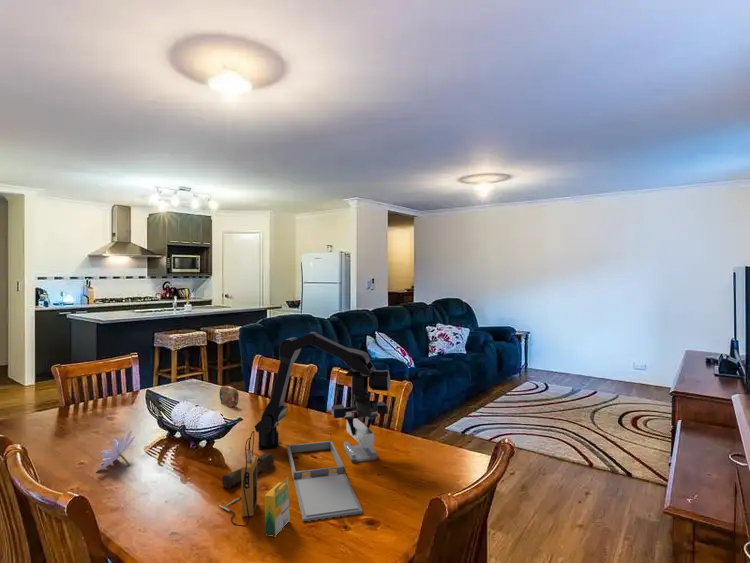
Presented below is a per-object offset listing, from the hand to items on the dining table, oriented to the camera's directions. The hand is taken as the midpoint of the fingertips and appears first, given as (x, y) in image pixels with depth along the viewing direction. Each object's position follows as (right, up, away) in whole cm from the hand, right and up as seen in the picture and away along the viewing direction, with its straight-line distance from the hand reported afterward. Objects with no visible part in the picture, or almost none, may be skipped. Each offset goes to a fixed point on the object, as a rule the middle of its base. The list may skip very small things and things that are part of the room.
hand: (359, 434), depth 157 cm
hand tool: (-33, -8, -16) cm, 38 cm away
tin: (-62, -5, +56) cm, 84 cm away
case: (-11, -7, -18) cm, 23 cm away
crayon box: (-19, -8, -44) cm, 49 cm away
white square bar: (0, -1, 0) cm, 1 cm away
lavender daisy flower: (-78, -7, -8) cm, 79 cm away
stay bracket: (0, -7, 0) cm, 7 cm away
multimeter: (-31, -8, -37) cm, 49 cm away
